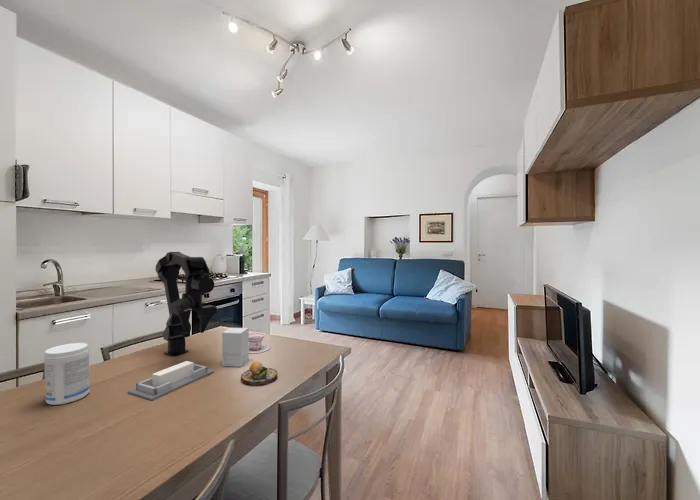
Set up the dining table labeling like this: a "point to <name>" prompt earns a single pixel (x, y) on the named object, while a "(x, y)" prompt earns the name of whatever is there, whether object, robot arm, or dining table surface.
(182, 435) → the dining table surface
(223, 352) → the supplement box
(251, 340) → the teacup
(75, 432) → the dining table surface
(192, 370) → the slat
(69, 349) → the supplement tub
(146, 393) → the grey bracket base
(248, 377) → the burger
